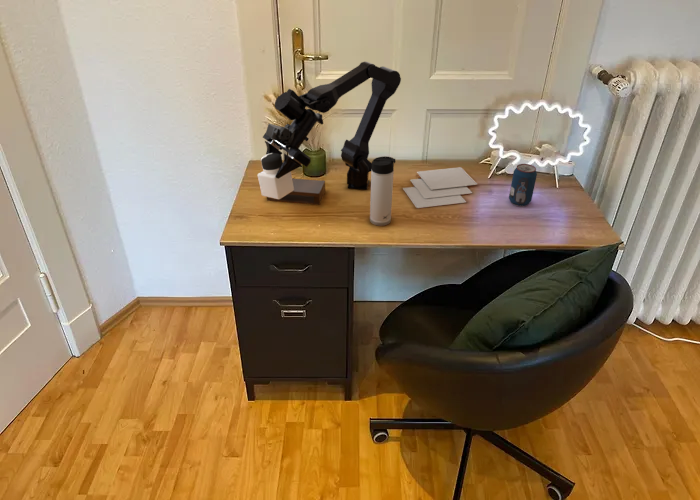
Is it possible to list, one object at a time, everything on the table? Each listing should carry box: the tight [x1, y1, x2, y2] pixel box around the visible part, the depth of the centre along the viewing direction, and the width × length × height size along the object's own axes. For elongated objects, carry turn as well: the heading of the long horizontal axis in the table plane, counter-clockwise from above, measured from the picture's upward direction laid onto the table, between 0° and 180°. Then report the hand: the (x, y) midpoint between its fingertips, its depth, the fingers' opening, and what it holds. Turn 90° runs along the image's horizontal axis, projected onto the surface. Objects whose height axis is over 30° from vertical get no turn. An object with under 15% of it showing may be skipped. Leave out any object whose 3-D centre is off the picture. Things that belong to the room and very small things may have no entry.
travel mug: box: [369, 155, 396, 227], centre depth 156 cm, size 6×7×20 cm
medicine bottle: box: [257, 153, 294, 200], centre depth 159 cm, size 7×7×12 cm
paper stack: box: [402, 166, 479, 209], centre depth 179 cm, size 23×25×1 cm
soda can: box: [508, 163, 538, 208], centre depth 168 cm, size 7×7×12 cm
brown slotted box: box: [266, 177, 326, 206], centre depth 173 cm, size 17×9×4 cm, turn 81°
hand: (270, 172), depth 157 cm, fingers closed on medicine bottle, 7 cm apart
